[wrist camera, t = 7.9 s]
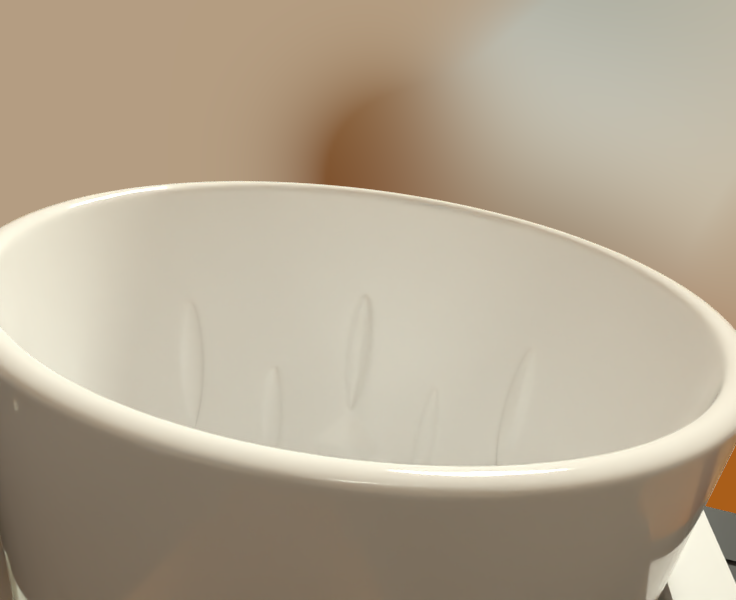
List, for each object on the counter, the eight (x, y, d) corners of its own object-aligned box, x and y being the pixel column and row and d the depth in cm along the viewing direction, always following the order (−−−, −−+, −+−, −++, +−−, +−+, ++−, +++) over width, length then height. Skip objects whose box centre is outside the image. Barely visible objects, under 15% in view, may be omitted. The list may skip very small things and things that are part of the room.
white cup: (-72, 885, 9) (-252, 237, 5) (261, 553, 15) (289, 164, 12) (403, 1456, 6) (851, 821, 2) (568, 726, 12) (740, 266, 8)
